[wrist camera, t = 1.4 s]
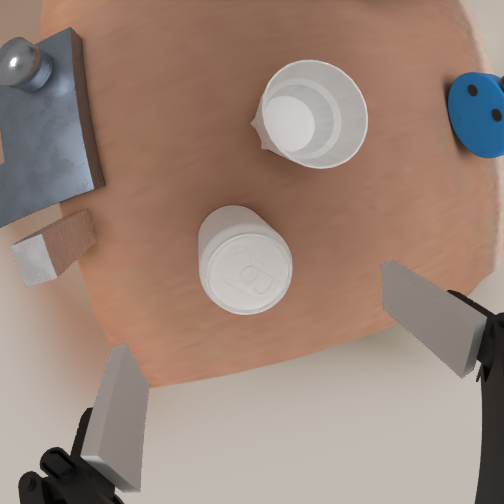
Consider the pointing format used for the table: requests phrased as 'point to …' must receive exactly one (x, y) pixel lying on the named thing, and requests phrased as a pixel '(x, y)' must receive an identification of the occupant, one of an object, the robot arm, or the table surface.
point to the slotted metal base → (44, 125)
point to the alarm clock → (478, 113)
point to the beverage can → (242, 261)
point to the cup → (312, 115)
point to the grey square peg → (54, 248)
